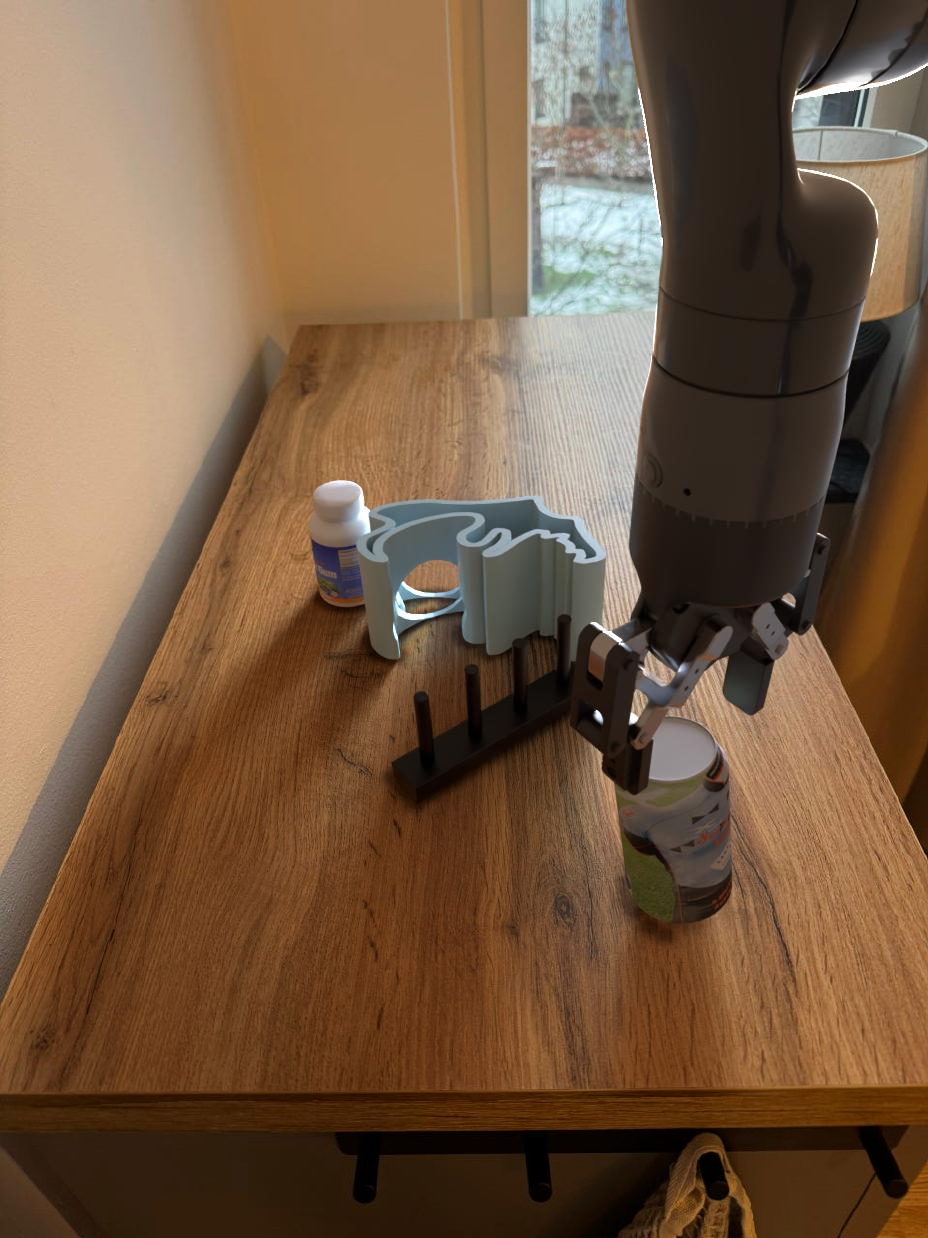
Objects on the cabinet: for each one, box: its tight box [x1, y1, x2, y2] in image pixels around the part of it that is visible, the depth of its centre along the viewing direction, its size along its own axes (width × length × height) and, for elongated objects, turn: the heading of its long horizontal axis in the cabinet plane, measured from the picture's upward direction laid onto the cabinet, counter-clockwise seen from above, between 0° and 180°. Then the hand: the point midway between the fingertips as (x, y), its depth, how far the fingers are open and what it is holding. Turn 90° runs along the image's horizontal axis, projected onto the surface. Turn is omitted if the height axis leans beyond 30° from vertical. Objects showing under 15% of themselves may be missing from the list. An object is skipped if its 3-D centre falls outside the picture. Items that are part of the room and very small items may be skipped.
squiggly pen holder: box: [356, 495, 607, 663], centre depth 71 cm, size 18×10×9 cm, turn 92°
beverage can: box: [613, 715, 733, 925], centre depth 51 cm, size 6×7×12 cm
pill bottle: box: [307, 480, 371, 608], centre depth 76 cm, size 5×5×10 cm
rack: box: [390, 614, 575, 804], centre depth 63 cm, size 3×16×8 cm, turn 127°
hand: (686, 741), depth 47 cm, fingers open, 8 cm apart
